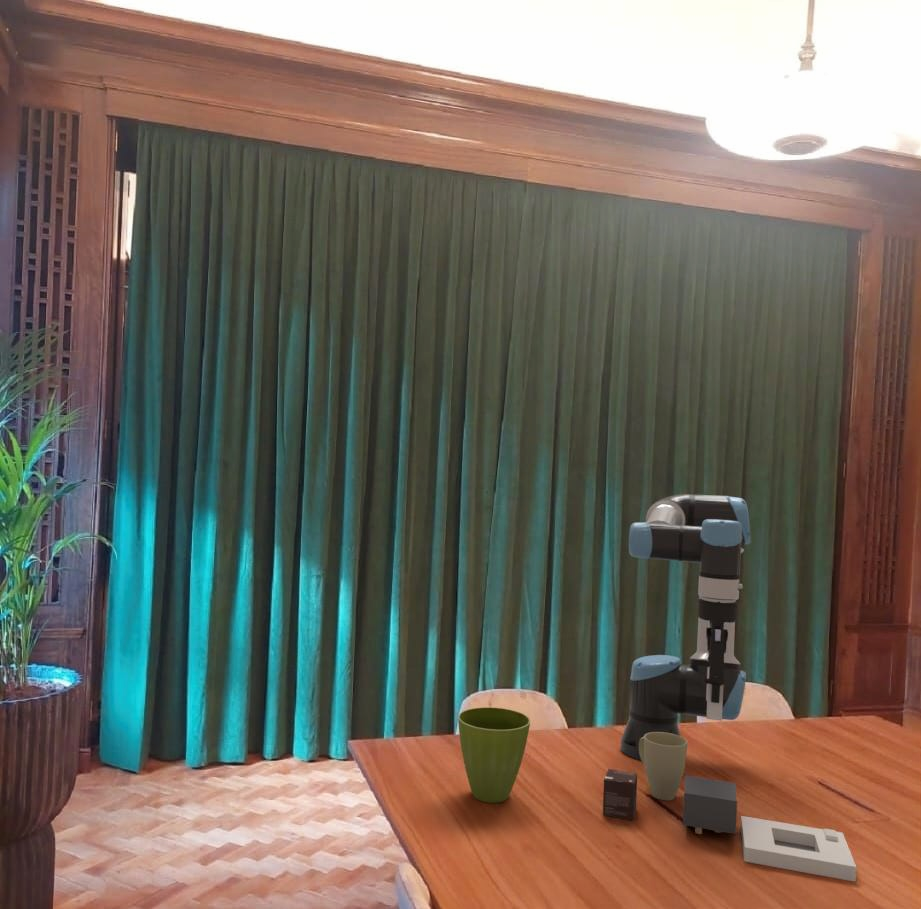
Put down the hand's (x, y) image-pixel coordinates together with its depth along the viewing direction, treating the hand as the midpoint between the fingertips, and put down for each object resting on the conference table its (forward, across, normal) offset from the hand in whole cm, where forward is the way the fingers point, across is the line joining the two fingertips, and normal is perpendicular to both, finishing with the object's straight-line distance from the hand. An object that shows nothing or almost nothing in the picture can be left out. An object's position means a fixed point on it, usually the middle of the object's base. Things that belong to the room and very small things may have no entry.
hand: (713, 709), depth 154 cm
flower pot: (+23, -2, +43) cm, 49 cm away
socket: (+23, -4, -15) cm, 28 cm away
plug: (+23, 0, 0) cm, 23 cm away
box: (+23, +1, +17) cm, 29 cm away
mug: (+23, +14, +10) cm, 29 cm away
